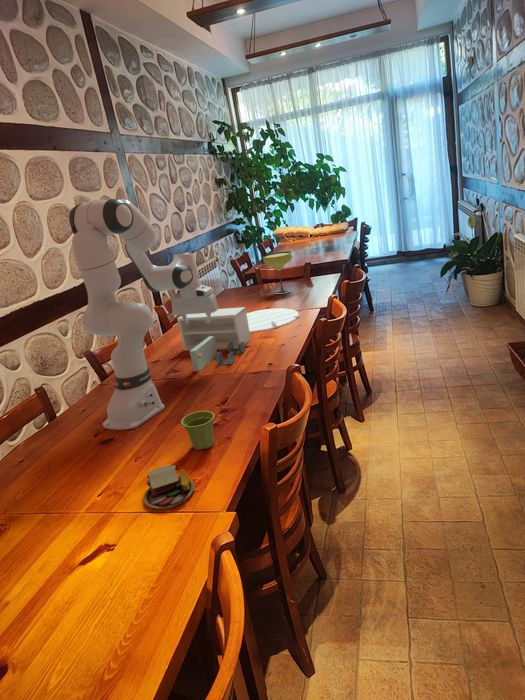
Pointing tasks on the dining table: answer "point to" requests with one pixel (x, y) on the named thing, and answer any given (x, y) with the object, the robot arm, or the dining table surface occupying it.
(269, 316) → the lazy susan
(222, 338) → the cabinet
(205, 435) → the plant pot
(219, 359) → the hinge clips
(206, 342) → the pale blue panel
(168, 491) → the toy sandwich meal
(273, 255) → the cocktail glass
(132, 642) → the dining table surface
